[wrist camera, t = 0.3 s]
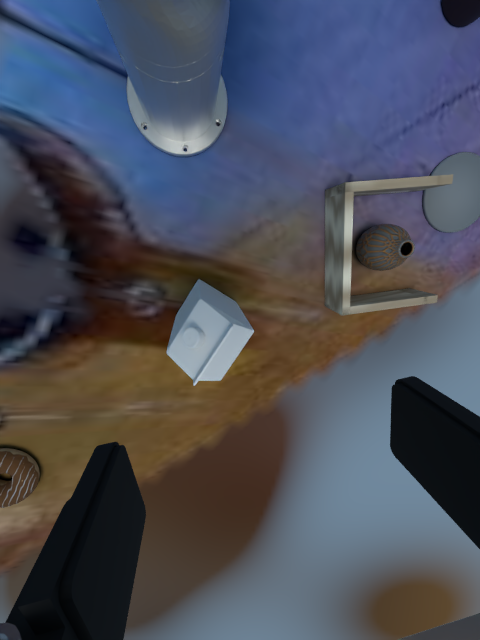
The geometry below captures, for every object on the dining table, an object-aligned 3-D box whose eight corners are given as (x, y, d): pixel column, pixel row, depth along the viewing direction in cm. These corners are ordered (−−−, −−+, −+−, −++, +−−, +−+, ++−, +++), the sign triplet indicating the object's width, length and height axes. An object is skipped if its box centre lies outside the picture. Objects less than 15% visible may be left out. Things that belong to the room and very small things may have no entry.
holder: (325, 190, 42) (345, 182, 36) (419, 182, 44) (453, 174, 38) (324, 306, 47) (342, 315, 42) (409, 295, 49) (436, 302, 44)
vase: (343, 261, 46) (375, 266, 37) (359, 219, 44) (397, 214, 36) (377, 272, 47) (416, 280, 39) (394, 232, 45) (438, 231, 37)
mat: (426, 155, 43) (429, 154, 42) (493, 151, 44) (497, 149, 43) (418, 235, 46) (421, 235, 46) (480, 229, 48) (484, 229, 47)
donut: (-41, 465, 46) (-63, 486, 42) (10, 431, 45) (-7, 449, 42) (10, 502, 49) (-6, 524, 45) (58, 471, 49) (46, 490, 45)
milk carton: (236, 301, 45) (263, 344, 27) (213, 336, 46) (224, 400, 28) (198, 278, 43) (200, 307, 25) (175, 315, 44) (161, 369, 26)
